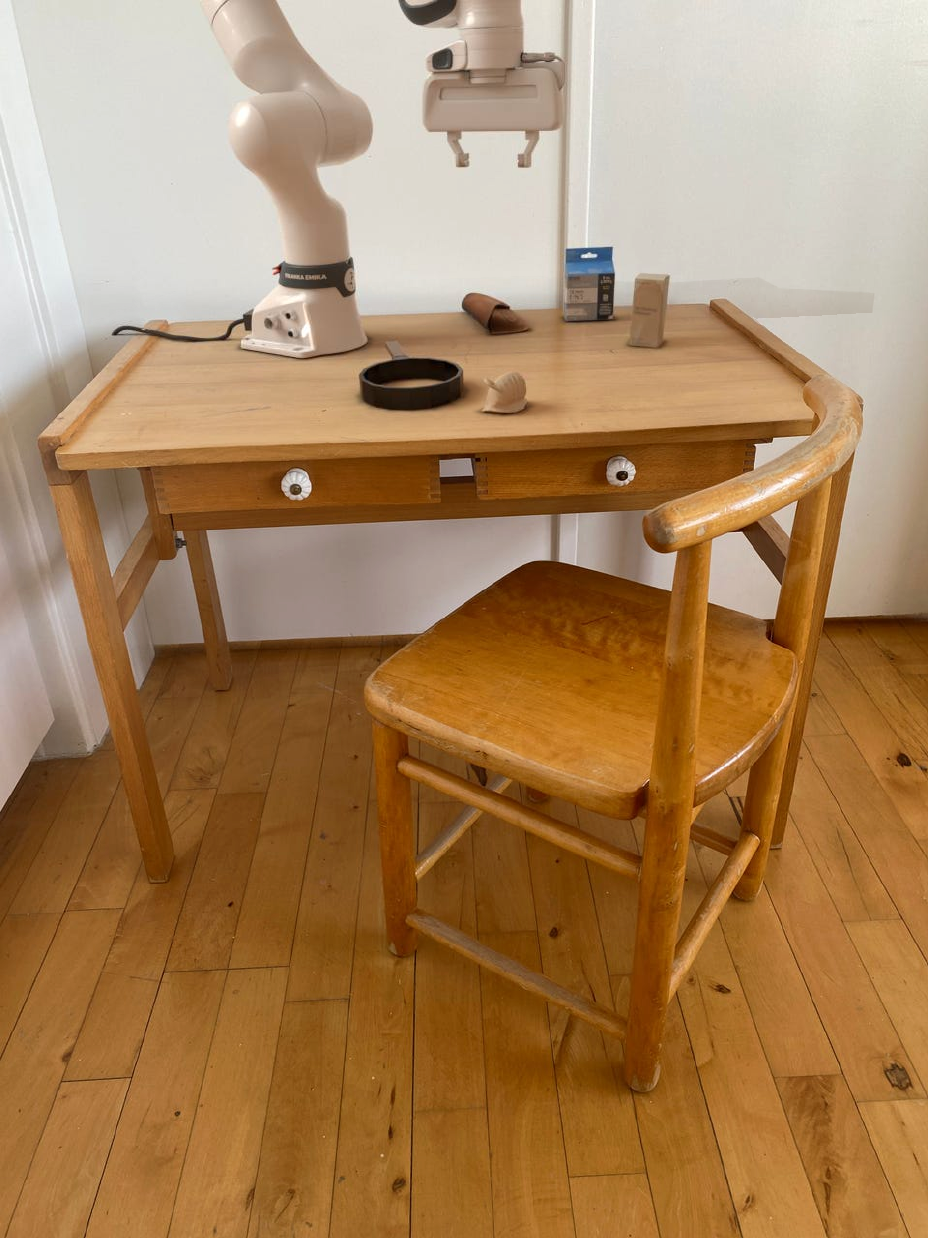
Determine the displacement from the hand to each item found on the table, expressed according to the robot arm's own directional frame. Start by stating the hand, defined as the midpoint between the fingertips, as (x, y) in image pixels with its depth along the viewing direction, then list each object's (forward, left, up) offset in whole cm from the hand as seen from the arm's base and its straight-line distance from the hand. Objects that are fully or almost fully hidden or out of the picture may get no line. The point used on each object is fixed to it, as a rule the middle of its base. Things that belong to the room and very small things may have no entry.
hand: (493, 167), depth 132 cm
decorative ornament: (+8, -18, -29) cm, 35 cm away
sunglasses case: (-10, +28, -29) cm, 42 cm away
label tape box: (+6, +34, -29) cm, 45 cm away
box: (+20, +20, -29) cm, 41 cm away
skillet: (-11, -11, -29) cm, 33 cm away
